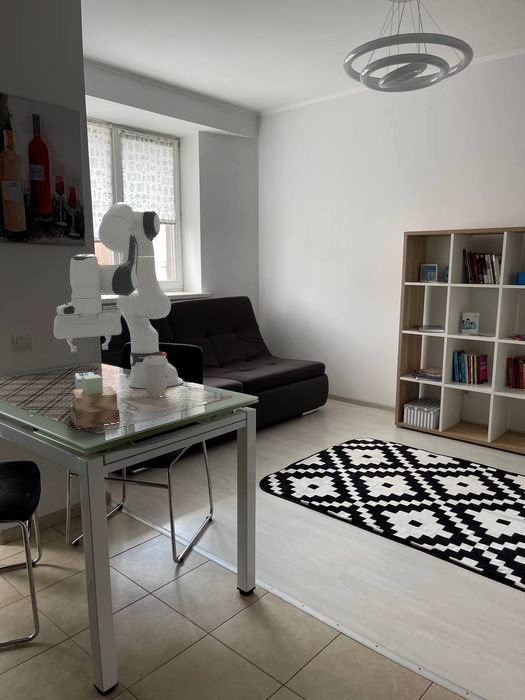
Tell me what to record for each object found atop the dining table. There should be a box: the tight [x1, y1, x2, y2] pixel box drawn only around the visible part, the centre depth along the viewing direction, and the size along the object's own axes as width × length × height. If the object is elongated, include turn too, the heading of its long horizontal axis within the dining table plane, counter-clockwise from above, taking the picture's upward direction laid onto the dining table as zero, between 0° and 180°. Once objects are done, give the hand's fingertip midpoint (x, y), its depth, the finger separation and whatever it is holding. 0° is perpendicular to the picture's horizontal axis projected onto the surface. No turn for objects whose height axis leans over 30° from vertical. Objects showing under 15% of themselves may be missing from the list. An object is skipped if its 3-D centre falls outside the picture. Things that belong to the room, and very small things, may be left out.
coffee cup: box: [143, 356, 169, 398], centre depth 198 cm, size 10×10×15 cm
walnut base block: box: [69, 404, 121, 430], centre depth 166 cm, size 13×13×5 cm
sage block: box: [82, 374, 104, 395], centre depth 164 cm, size 5×5×5 cm
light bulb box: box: [74, 371, 95, 390], centre depth 186 cm, size 11×7×11 cm, turn 23°
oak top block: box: [72, 385, 119, 414], centre depth 165 cm, size 12×12×5 cm
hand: (89, 350), depth 163 cm, fingers open, 8 cm apart
